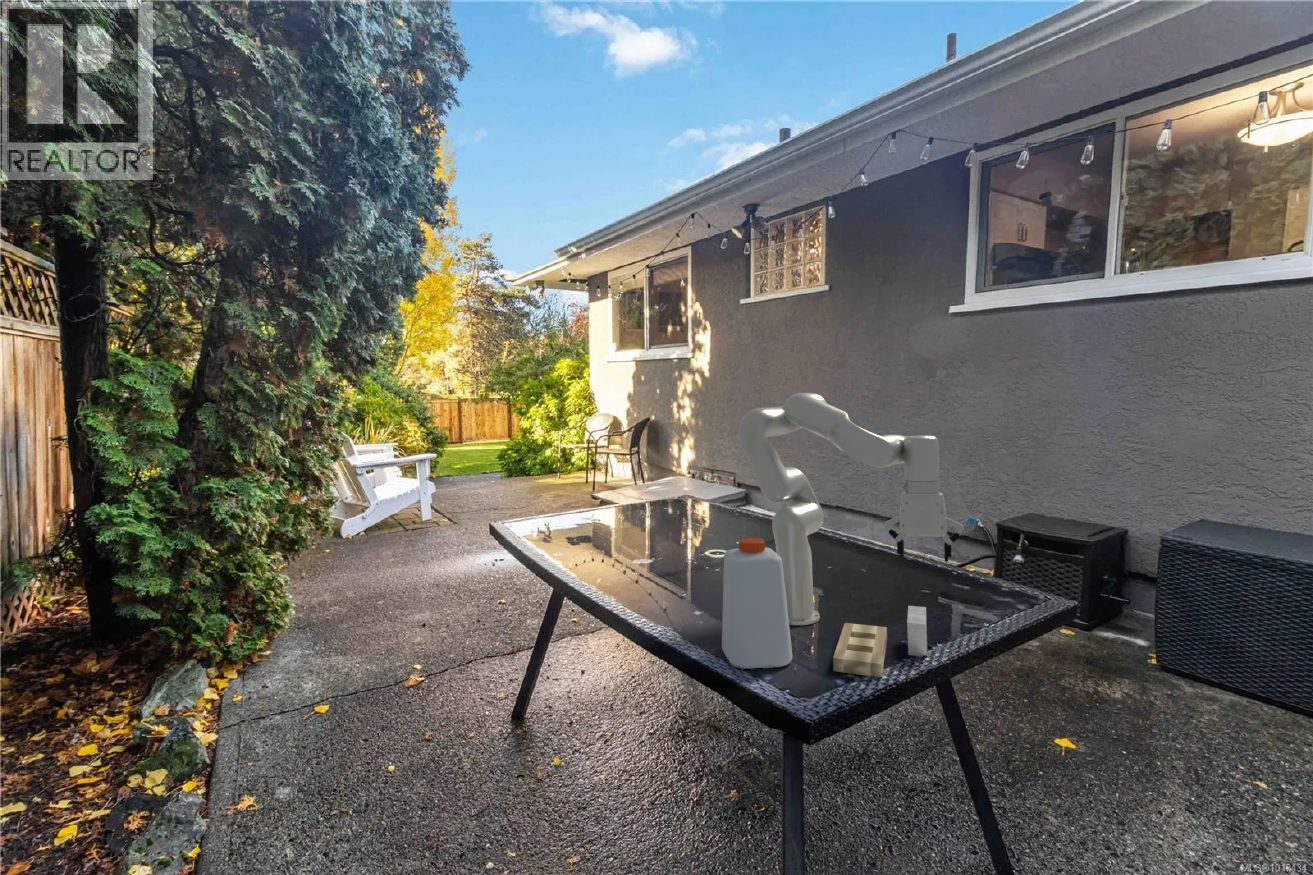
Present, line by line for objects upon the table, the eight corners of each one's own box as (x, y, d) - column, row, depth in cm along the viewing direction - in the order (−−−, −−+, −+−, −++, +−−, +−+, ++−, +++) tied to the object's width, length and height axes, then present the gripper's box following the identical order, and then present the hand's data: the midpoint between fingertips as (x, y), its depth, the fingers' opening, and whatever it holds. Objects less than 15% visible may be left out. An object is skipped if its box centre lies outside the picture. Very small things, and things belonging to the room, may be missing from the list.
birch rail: (833, 671, 128) (833, 657, 128) (845, 634, 148) (844, 622, 148) (881, 677, 124) (881, 664, 124) (887, 639, 144) (886, 627, 144)
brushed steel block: (908, 656, 134) (907, 622, 134) (909, 637, 145) (908, 605, 144) (927, 658, 132) (926, 624, 132) (926, 639, 143) (925, 607, 143)
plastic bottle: (797, 668, 131) (793, 545, 129) (731, 673, 130) (726, 550, 128) (778, 641, 146) (773, 531, 145) (719, 646, 145) (714, 535, 143)
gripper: (881, 489, 138) (883, 559, 139) (963, 490, 130) (965, 565, 131) (885, 484, 145) (887, 552, 145) (963, 486, 136) (964, 557, 137)
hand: (924, 558), depth 138 cm, fingers open, 9 cm apart
